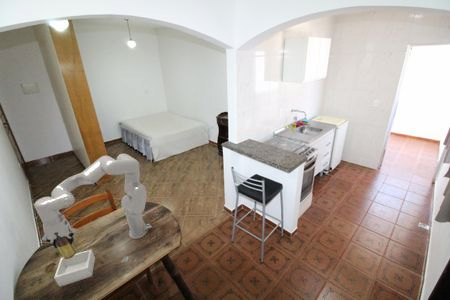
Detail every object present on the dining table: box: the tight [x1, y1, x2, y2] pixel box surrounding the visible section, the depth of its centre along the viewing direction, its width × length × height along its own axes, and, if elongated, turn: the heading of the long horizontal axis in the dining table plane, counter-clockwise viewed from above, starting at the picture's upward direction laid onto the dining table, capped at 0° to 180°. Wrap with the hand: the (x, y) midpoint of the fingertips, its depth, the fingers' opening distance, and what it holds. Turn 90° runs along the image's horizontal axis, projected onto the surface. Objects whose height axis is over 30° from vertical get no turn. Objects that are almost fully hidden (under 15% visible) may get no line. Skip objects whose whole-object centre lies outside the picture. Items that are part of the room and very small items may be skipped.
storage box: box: [53, 249, 96, 288], centre depth 126 cm, size 16×13×8 cm
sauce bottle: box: [54, 232, 77, 259], centre depth 117 cm, size 7×6×20 cm
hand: (64, 244), depth 117 cm, fingers closed on sauce bottle, 6 cm apart
